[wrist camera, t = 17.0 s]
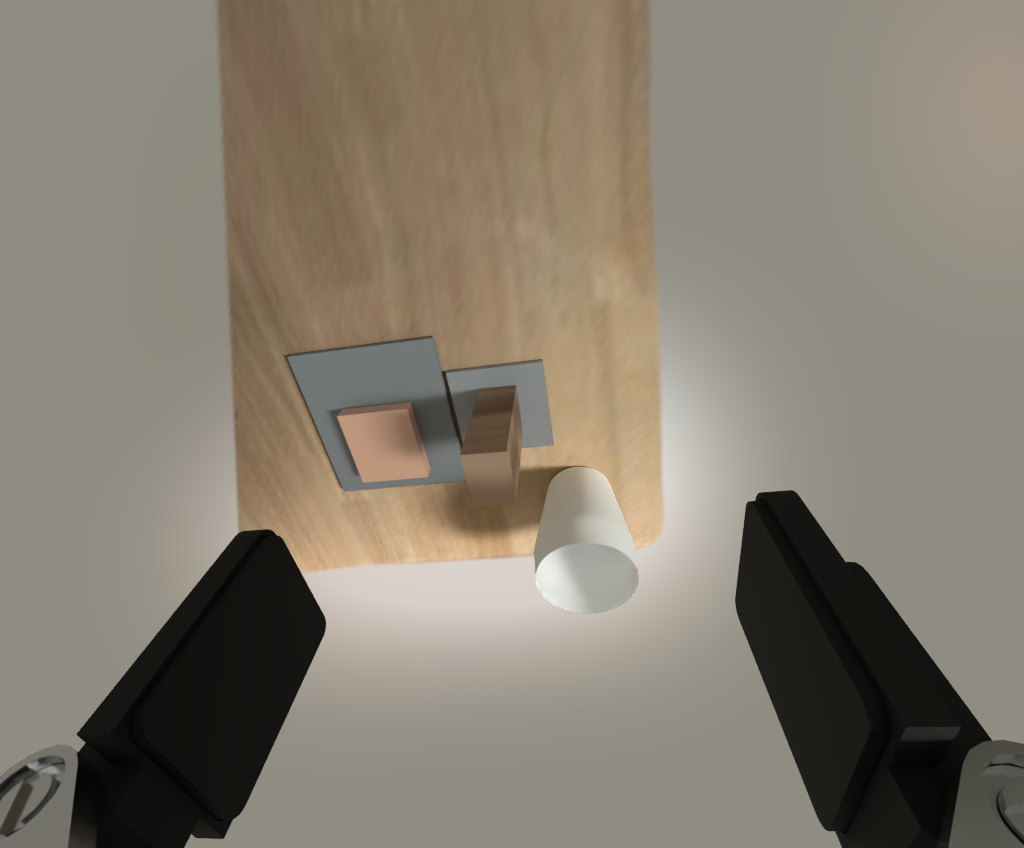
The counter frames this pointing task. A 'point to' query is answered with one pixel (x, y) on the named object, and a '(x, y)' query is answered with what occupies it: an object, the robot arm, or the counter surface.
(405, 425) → the tile
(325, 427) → the mat
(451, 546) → the counter surface
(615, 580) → the cup
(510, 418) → the bar
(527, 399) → the coaster
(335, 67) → the counter surface
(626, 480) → the counter surface
